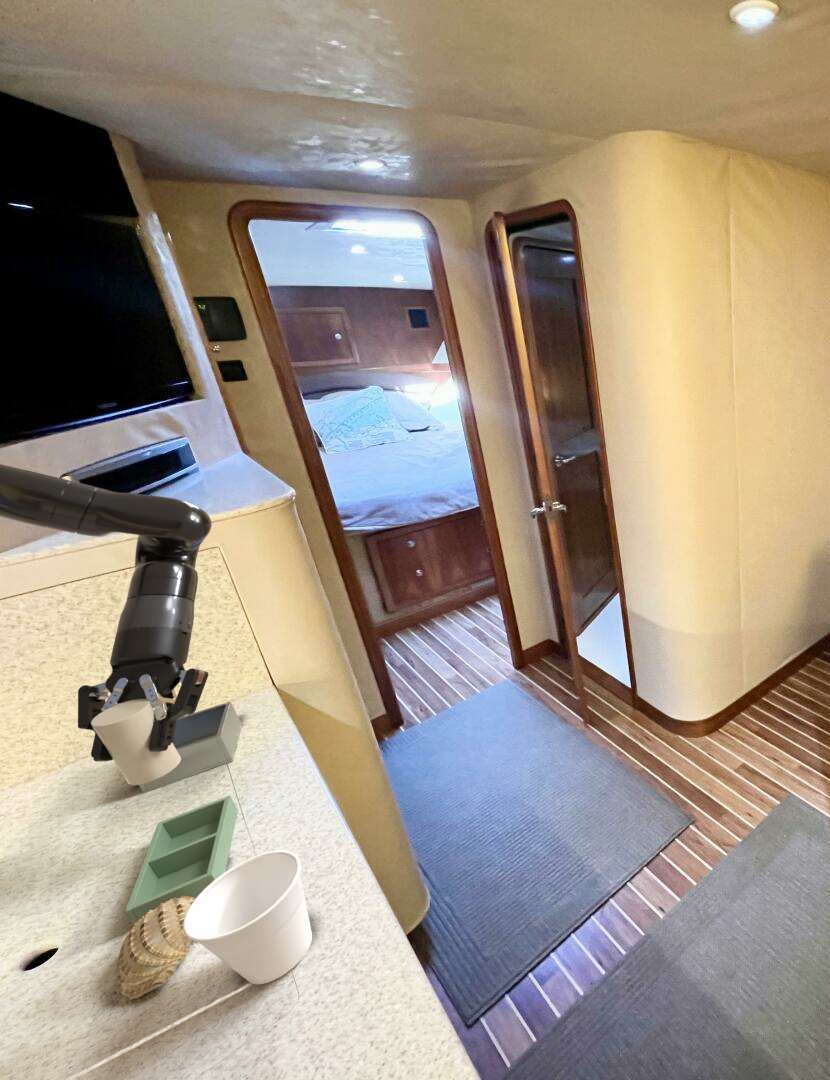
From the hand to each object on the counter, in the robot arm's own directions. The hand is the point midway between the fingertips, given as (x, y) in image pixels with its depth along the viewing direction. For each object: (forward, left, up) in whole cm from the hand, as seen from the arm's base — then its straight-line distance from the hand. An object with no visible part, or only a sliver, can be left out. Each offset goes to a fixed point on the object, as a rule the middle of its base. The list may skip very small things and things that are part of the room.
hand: (131, 755), depth 70 cm
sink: (-2, +22, -16) cm, 27 cm away
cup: (+13, -28, -16) cm, 35 cm away
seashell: (+2, -20, -16) cm, 26 cm away
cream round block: (+1, +2, -4) cm, 5 cm away
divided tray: (+2, -6, -16) cm, 17 cm away
